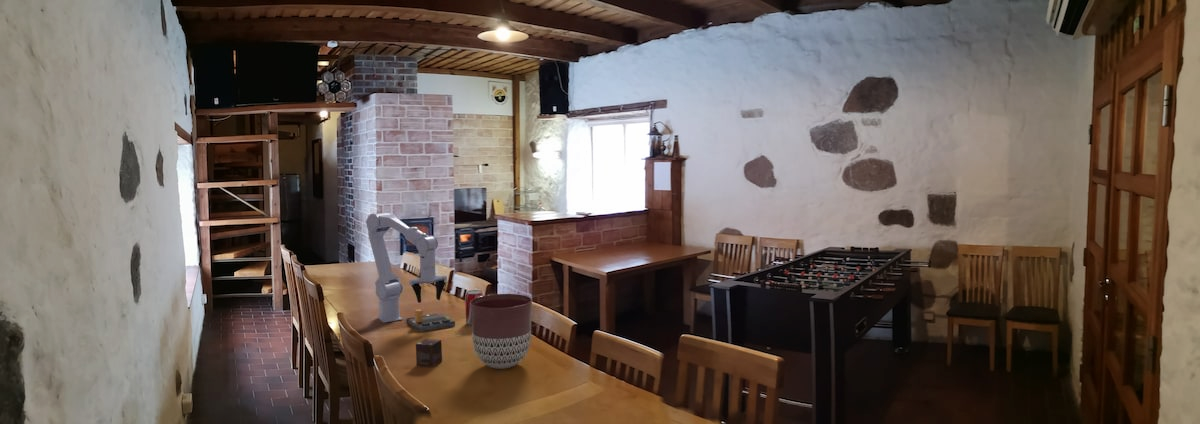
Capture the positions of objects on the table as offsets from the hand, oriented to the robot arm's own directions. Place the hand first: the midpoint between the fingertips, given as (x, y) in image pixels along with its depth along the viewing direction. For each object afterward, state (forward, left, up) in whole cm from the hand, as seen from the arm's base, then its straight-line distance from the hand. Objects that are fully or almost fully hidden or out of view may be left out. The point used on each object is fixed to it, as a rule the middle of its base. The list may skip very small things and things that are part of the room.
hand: (428, 300), depth 249 cm
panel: (0, +1, -10) cm, 10 cm away
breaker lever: (0, -4, -8) cm, 9 cm away
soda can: (+8, +16, -10) cm, 20 cm away
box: (+44, -15, -10) cm, 48 cm away
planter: (+60, +3, -10) cm, 61 cm away
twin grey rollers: (-9, +1, -10) cm, 14 cm away
